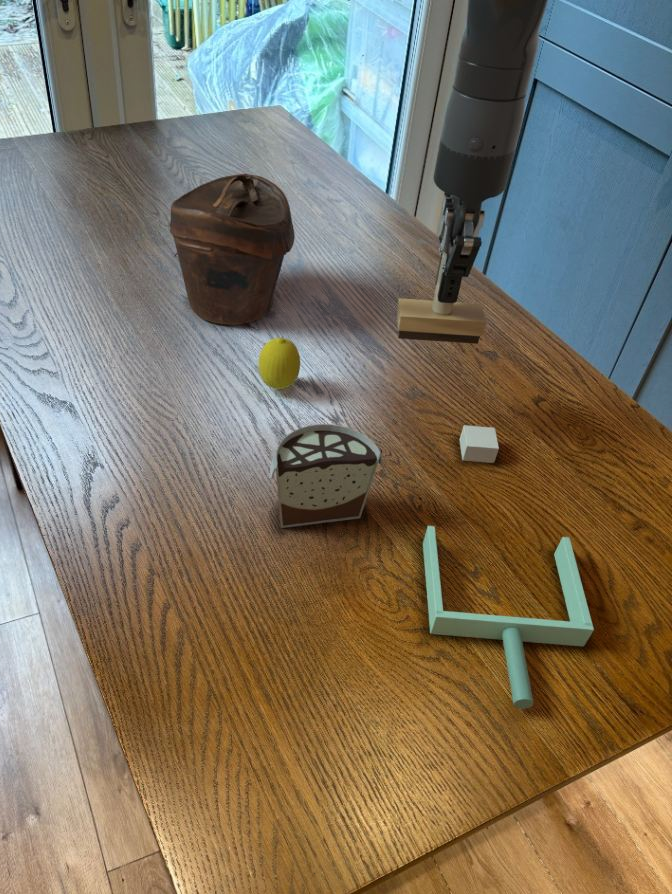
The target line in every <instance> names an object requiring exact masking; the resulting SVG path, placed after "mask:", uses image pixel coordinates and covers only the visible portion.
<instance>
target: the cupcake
mask: <svg viewBox="0 0 672 894" xmlns="http://www.w3.org/2000/svg"><path fill="white" fill-rule="evenodd" d="M378 465H379V466H380V467H384V462H383V456H382V452H381V450H380V449H379V447H378V446H377V445H376V444H375V442H374V441H373V440H371V439H370V437H368V436H366V435H364V434H363V433H362V432H360V431H357V430H355V429H353V428H351V427H347V426H344V425H338V424H331V423H317V424H316V423H315V424H310V425H306V426H301V427H300V428H296V429H294V430H293V431H292V432H290V433H287V435H286V436H285V437H283V439H282V440H281V441H280V442H279V444H278V445H277V447H276V448H275V451H274V453H273V456H272V459H271V462H270V466H269V476H270V479H271V480H274V479H273V478H274V475H276V477H275V478H276V488H277V501H278V515H279V525H280V528H281V529H285V528H292V527H293V528H294V527H301V526H310V525H317V524H323V523H325V524H326V523H333V522H341V521H342V522H343V521H349V520H357V519H361V517H362V514H363V511H364V508H365V505H366V502H367V498H368V496H369V492H370V489H371V487H372V484H373V481H374V477H375V475H376V471H377V468H378Z"/></svg>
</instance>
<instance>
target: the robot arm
mask: <svg viewBox="0 0 672 894" xmlns="http://www.w3.org/2000/svg"><path fill="white" fill-rule="evenodd" d="M548 1H549V0H467V8H466V20H465V25H464V28H463V31H462V35H461V39H460V43H459V48H458V54H457V59H456V64H455V71H454V75H453V80H452V81H453V82H452V86H451V90H450V94H449V97H448V100H447V103H446V106H445V110H444V111H445V112H444V114H443V115H444V117H443V121H442V128H441V134H440V138H439V144H438V149H437V155H436V160H435V166H434V172H433V181H434V182H433V183H434V185H435V186H436V188H438V189H439V190H440V191H442V192H443V193H444V194H443V196H444V198H443V202H442V216H441V222H440V226H439V235H438V241H439V244H440V247H439V249H438V253H439V256H440V257H439V262H438V268H437V272H436V278H435V286H436V285H437V280H438V275H439V270H440V265H441V260H442V255H443V252H444V253H445V258H444V263H443V265H442V270H443V271H442V276H441V281H440V286H439V290H438V295H437V297H438V301H439V302H441V303H455V302H458V298H459V295H460V289H461V286H462V285H461V284H462V282H463V281H462V280H463V278H469V276H470V274H471V271H472V268H473V266H474V263H475V261H476V259H477V256H478V254H479V252H480V250H481V247H482V243H483V241H482V237H481V236H479V233H480V230H481V229H482V228H483V224H484V222H485V221H484V219H485V216H486V212H485V211H486V210H485V209H482V206H483V205H482V204H483V202H485V201H486V200H489V199H494V198H495V197H498V196H500V195H501V194H502V193H504V192H505V190H506V188H507V185H508V182H509V181H508V180H509V177H510V173H511V170H512V169H511V168H512V165H513V160H514V156H515V153H516V149H517V144H518V140H519V138H520V137H519V136H520V132H521V130H522V129H521V128H522V125H523V120H524V115H525V114H524V113H525V104H526V100H527V99H526V98H527V94H528V90H529V86H530V83H531V77H532V73H533V69H534V66H535V61H536V56H537V51H538V47H539V46H538V45H539V39H540V27H541V24H542V21H543V18H544V15H545V12H546V8H547V5H548Z"/></svg>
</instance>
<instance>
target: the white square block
mask: <svg viewBox="0 0 672 894" xmlns="http://www.w3.org/2000/svg"><path fill="white" fill-rule="evenodd" d="M497 436H498V435H497V432H496V428H495V427H490V426H479V425H478V426H477V425H465V424H464V425H463V426H462V429H461V433H460V436H459V446H460V447H459V448H460V453H461V460H462V461H464V462H475V463H476V462H477V463H488V464H494V463H495V461H496V460H497V459H496V458H497V455H498V453H499V450H500V447H499V442H498V437H497Z"/></svg>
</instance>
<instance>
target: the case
mask: <svg viewBox="0 0 672 894" xmlns="http://www.w3.org/2000/svg"><path fill="white" fill-rule="evenodd" d="M169 233H170V234H171V235H172V238H173V241H174V245H175V251H176V253H175V254H174V256H173V257H174V258H176V256H177V258H178V263H179V266H180V270H181V275H182V280H183V282H184V288H185V292H186V296H187V300H188V304H189V307H190V309H191V310H192V312H193V313H194V314H195V315H196V316H198V317H199V318H201V319H203V320H204V321H207V322H210V323H214V324H218V325H230V326H231V325H233V326H234V325H235V326H236V325H243V324H249V323H252V322H254V321H257V320H259V319H261V318H262V317H264V316H265V315H266V314H268V313H269V312H270V311H271V310H272V307H273V302H274V301H273V300H274V295H275V293H276V288H277V285H278V280H279V277H280V273H281V271H282V265H283V262H284V258H285V256H286V255H287V253H290V252H291V250H292V248H293V246H294V244H295V238H296V235H295V229H294V224H293V220H292V213H291V207H290V204H289V200H288V198H287V195H285V192H284V191H283V190H282V189H281V188H280V187H279V186H278V185H277V184H275V183H274V182H272V181H270V180H269V179H267V178H265V177H264V176H260V175H255V174H249V173H238V174H232V175H231V174H230V175H226V176H225V175H224V176H222V177H218V178H216V179H213V180H211V181H208V182H204V183H203V184H201V185H198V186H197V187H195V188H193V189H191V190H190V191H188V192H186V193H184V194H182V195H181V196H180V197H178V198H177V199H175V200H174V201H173V202H172V203H171V206H170V220H169Z"/></svg>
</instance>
